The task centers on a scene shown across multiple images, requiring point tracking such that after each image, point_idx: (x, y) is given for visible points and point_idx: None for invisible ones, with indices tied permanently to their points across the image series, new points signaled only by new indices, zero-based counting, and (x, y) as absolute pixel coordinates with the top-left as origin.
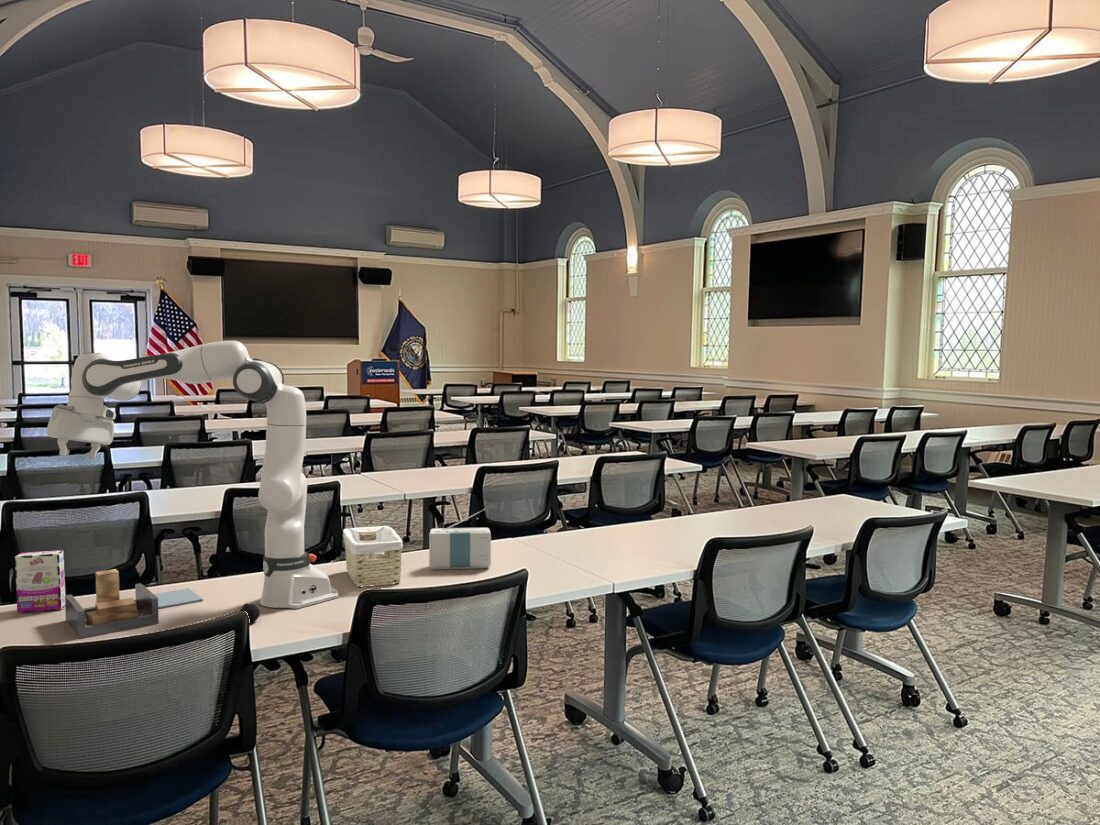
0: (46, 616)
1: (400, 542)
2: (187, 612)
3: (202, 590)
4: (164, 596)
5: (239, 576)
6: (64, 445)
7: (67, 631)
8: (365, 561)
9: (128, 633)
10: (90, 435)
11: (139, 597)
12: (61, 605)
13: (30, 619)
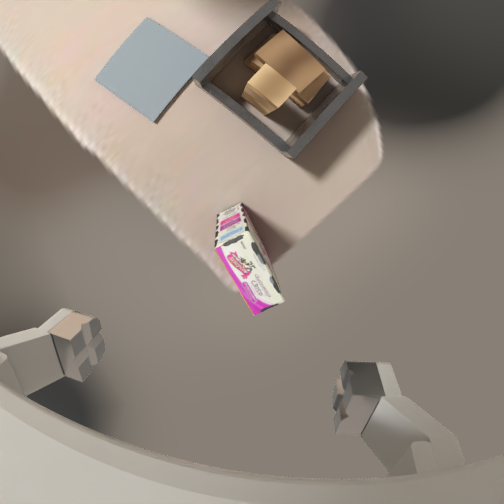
0: (272, 201)
1: None
2: (208, 4)
3: (93, 59)
4: (143, 81)
5: (22, 68)
6: (430, 417)
7: None
8: None
9: (316, 30)
10: (32, 482)
11: (220, 64)
12: (239, 204)
13: (289, 214)
